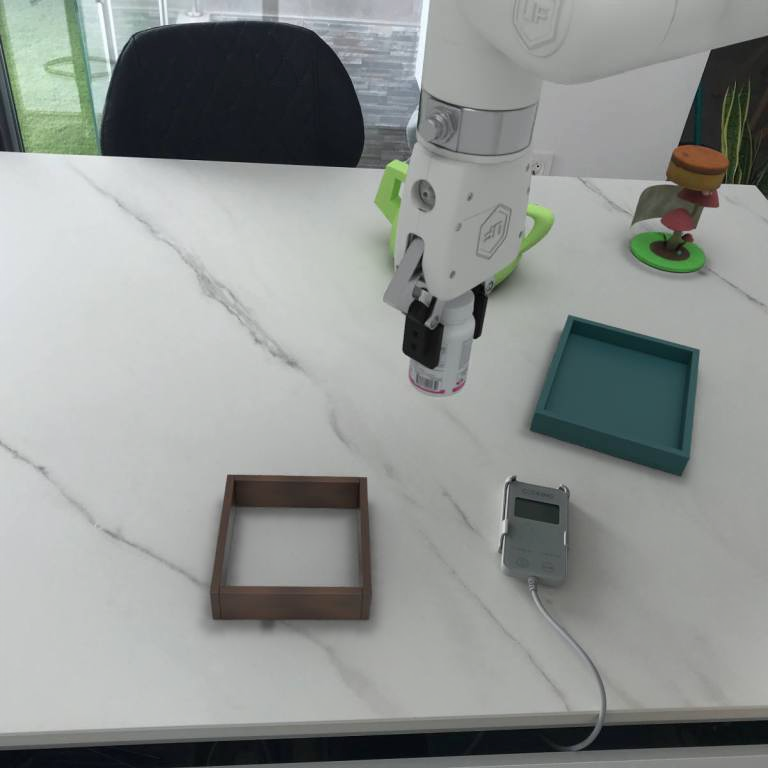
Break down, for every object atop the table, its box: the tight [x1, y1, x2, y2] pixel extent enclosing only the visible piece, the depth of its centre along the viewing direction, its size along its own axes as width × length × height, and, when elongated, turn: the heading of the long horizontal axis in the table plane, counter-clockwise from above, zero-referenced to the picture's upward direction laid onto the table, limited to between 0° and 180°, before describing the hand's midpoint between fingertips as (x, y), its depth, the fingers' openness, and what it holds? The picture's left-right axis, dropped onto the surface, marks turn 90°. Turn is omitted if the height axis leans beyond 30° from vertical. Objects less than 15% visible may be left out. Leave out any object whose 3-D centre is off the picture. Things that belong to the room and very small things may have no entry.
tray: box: [529, 314, 701, 477], centre depth 86 cm, size 20×16×3 cm
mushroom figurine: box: [629, 144, 730, 273], centre depth 108 cm, size 12×13×15 cm
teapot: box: [373, 158, 555, 289], centre depth 101 cm, size 19×20×14 cm
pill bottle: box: [407, 289, 475, 398], centre depth 61 cm, size 5×5×8 cm
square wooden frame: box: [209, 473, 373, 621], centre depth 65 cm, size 12×12×4 cm
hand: (442, 343), depth 61 cm, fingers closed on pill bottle, 4 cm apart
